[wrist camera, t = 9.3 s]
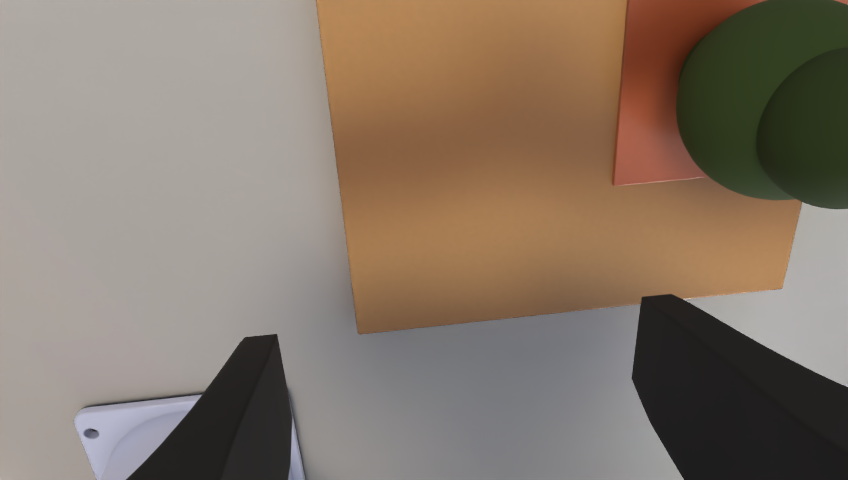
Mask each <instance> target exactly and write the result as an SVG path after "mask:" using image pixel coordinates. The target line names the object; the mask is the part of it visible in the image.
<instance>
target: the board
mask: <svg viewBox="0 0 848 480" xmlns="http://www.w3.org/2000/svg"><path fill="white" fill-rule="evenodd" d="M763 1H766V0H316V5H317V13H318V21H319V29H320V37H321V45H322V53H323V61H324V69H325V76H326V84H327V92H328V100H329V108H330V116H331V124H332V132H333V140H334V148H335V156H336V163H337V171H338V179H339V187H340V195H341V203H342V211H343V219H344V227H345V235H346V243H347V250H348V258H349V266H350V274H351V282H352V290H353V298H354V306H355V314H356V322H357V330H358V334H367V333H376V332H386V331H395V330H404V329H414V328H423V327H432V326H441V325H451V324H460V323H469V322H478V321H488V320H497V319H506V318H516V317H525V316H534V315H543V314H553V313H562V312H571V311H580V310H590V309H599V308H608V307H618V306H627V305H636V304H641V298H642V297H645V296H654V295H664V294H673V295H675V296H677V297H679V298H681V299H692V298H701V297H710V296H720V295H729V294H738V293H747V292H757V291H766V290H775V289H782V287H783V283H784V278H785V274H786V270H787V265H788V261H789V257H790V252H791V248H792V244H793V239H794V235H795V231H796V226H797V222H798V218H799V213H800V209H801V205H802V202H801V201H799V200H797V199H794V200H765V199H758V198H753V197H748V196H745V195H742V194H739V193H736V192H734V191H731V190H729V189H727V188H725V187H724V186H722V185H720V184H719V183H717V182H715V181H714V180H712V179H711V178H710V177H709V176H707V175H706V174H705V173H704V172H703V171H702V170H701V169H700V168H699V167H698V166H697V165H696V163H695V162H694V161H693V160H692V158H691V156H690V155H689V153H688V151H687V150H686V148H685V146H684V144H683V141H682V139H681V136H680V133H679V129H678V124H677V118H676V99H677V92H678V83H679V76H680V72H681V68H682V66H683V63H684V61H685V59H686V57H687V56H688V54H689V52H690V51H691V50H692V48H693V47H694V46H695V45H696V44H697V43H698V42H699V41H700V40H701V39H702V38H703V37H704V36H706V35H707V34H708V33H710V32H711V31H712V30H713V29H715V28H716V27H717V26H718V25H719V24H721V23H722V22H723V21H725V20H726V19H728V18H729V17H730V16H732V15H734V14H735V13H737V12H739V11H741V10H742V9H745V8H747V7H750V6H752V5H754V4H757V3H760V2H763ZM835 1H838V2H841V3H844V4H847V5H848V0H835Z"/></svg>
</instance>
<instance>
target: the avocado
mask: <svg viewBox="0 0 848 480" xmlns="http://www.w3.org/2000/svg"><path fill="white" fill-rule="evenodd" d="M676 118H677V124H678V129H679V133H680V136H681V139H682V141H683V144H684V146H685V148H686V150H687V151H688V153H689V155H690V156H691V158H692V160H693V161H694V162H695V163H696V165H697V166H698V167H699V168H700V169H701V170H702V171H703V172H704V173H705V174H706V175H707V176H709V177H710V178H711V179H712V180H714V181H715V182H717V183H719V184H720V185H722V186H724V187H725V188H727V189H729V190H731V191H734V192H736V193H739V194H742V195H745V196H748V197H753V198H758V199H765V200H794V199H797V200H799V201H801V202H804V203H806V204H810V205H813V206H817V207H821V208H829V209H848V5H847V4H844V3H841V2H838V1H835V0H766V1H763V2H760V3H757V4H754V5H752V6H750V7H747V8H745V9H742V10H741V11H739V12H737V13H735V14H734V15H732V16H730V17H729V18H728V19H726V20H725V21H723V22H722V23H721V24H719V25H718V26H717V27H716V28H715V29H713V30H712V31H711V32H710V33H708V34H707V35H706V36H704V37H703V38H702V39H701V40H700V41H699V42H698V43H697V44H696V45H695V46H694V47H693V48H692V50H691V51H690V52H689V54H688V56H687V57H686V59H685V61H684V63H683V66H682V68H681V72H680V76H679V83H678V92H677V99H676Z"/></svg>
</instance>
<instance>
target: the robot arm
mask: <svg viewBox="0 0 848 480" xmlns="http://www.w3.org/2000/svg"><path fill="white" fill-rule="evenodd" d="M632 380H633V383H634V385H635V388H636V390H637V392H638V395H639V397H640V400H641V402H642V405H643V407H644V409H645V412H646V414H647V416H648V418H649V421H650V423H651V424H652V426H653V428H654V430H655V431H656V433H657V435H658V437H659V438H660V440H661V442H662V443H663V445H664V447H665V448H666V450H667V452H668V454H669V455H670V457H671V459H672V460H673V462H674V464H675V465H676V467H677V469H678V470H679V472H680V474H681V475H682V477H683V479H684V480H848V387H846V386H844V385H841V384H839V383H837V382H834V381H832V380H830V379H828V378H826V377H824V376H822V375H819V374H817V373H815V372H813V371H811V370H809V369H807V368H805V367H803V366H801V365H799V364H797V363H796V362H794V361H792V360H790V359H788V358H786V357H784V356H782V355H780V354H778V353H776V352H774V351H773V350H771V349H769V348H767V347H765V346H763V345H762V344H760V343H758V342H756V341H754V340H753V339H751V338H749V337H747V336H746V335H744V334H742V333H740V332H739V331H737V330H735V329H733V328H732V327H730V326H728V325H727V324H725V323H723V322H721V321H720V320H718V319H716V318H715V317H713V316H711V315H709V314H708V313H706V312H704V311H703V310H701V309H699V308H697V307H696V306H694V305H692V304H690V303H688V302H687V301H685V300H683V299H681V298H679V297H677V296H675V295H673V294H664V295H654V296H645V297H642V298H641V306H640V315H639V323H638V331H637V339H636V347H635V356H634V364H633V372H632ZM74 425H75V427H76V430H77V432H78V434H79V437H80V439H81V442H82V444H83V447H84V449H85V452H86V454H87V457H88V459H89V462H90V464H91V467H92V469H93V472H94V474H95V477H96V479H97V480H305V475H304V470H303V465H302V460H301V455H300V450H299V445H298V440H297V435H296V430H295V425H294V420H293V414H292V409H291V404H290V399H289V395H288V390H287V385H286V380H285V374H284V369H283V364H282V358H281V353H280V348H279V342H278V337H277V334H272V335H263V336H253V337H245V338H244V339H243V340H242V341H241V342H240V344H239V345H238V346H237V348H236V349H235V351H234V352H233V353H232V355H231V356H230V358H229V359H228V360H227V362H226V363H225V365H224V366H223V368H222V369H221V370H220V372H219V373H218V374H217V376H216V377H215V378H214V380H213V381H212V383H211V384H210V385H209V387H208V388H207V389H206V390H205V392H204V393H203V394H202V395H194V396H185V397H176V398H167V399H158V400H149V401H140V402H131V403H122V404H113V405H104V406H95V407H87V408H83V409H81V410H80V411H79V412H78V413H77V415H76V417H75V420H74ZM90 429H95V430H97V431H98V432H95V431H91V430H90Z"/></svg>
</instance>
